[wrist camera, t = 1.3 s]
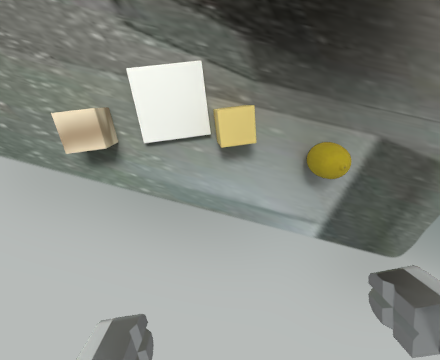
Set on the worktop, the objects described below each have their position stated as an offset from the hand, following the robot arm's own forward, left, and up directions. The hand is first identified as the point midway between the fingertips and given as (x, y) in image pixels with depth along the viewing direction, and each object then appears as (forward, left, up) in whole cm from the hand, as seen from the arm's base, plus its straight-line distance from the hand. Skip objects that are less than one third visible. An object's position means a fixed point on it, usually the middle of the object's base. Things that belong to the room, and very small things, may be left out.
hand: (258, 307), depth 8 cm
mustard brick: (-4, +4, -29) cm, 29 cm away
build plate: (-8, -4, -29) cm, 30 cm away
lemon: (+3, +18, -29) cm, 34 cm away
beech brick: (-6, -16, -29) cm, 33 cm away
